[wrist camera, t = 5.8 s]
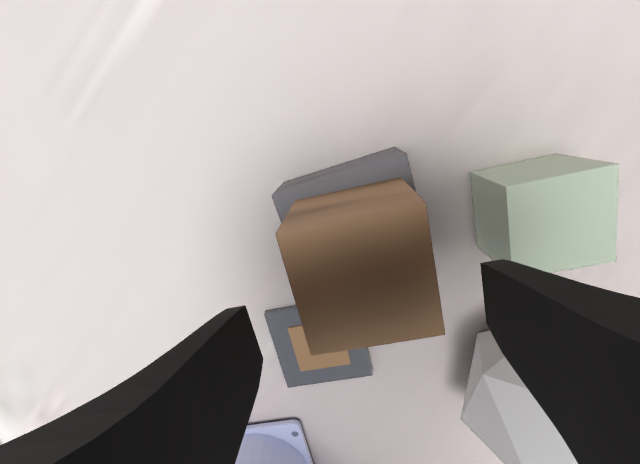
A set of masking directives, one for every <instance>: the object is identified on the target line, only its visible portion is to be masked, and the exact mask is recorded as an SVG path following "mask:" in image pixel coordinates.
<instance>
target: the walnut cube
mask: <svg viewBox="0 0 640 464" xmlns="http://www.w3.org/2000/svg"><path fill="white" fill-rule="evenodd" d="M276 238H277V241H278V245H279V248H280V251H281V255H282V258H283V262H284V265H285V268H286V272H287V275H288V279H289V282H290V286H291V289H292V292H293V296H294V299H295V303H296V306H297V309H298V313H299V316H300V320H301V323H302V327H303V330H304V333H305V337H306V340H307V344H308V347H309V350H310V354H311V356H314V355H320V354H327V353H333V352H339V351H346V350H352V349H358V348H365V347H371V346H377V345H383V344H390V343H396V342H402V341H409V340H415V339H421V338H427V337H434V336H440V335H445V329H444V322H443V316H442V309H441V302H440V295H439V289H438V282H437V275H436V269H435V262H434V255H433V249H432V242H431V235H430V228H429V222H428V215H427V208H426V202H425V201H424V200H423V199H422V198H421V197H420V196H419V195H418V194H417V193H416V192H415V191H414V190H413V189H412V188H411V187H410V186H409V185H408V184H407V183H406V182H405V181H404V180H403V179H402V178H401V177H398V178H393V179H389V180H384V181H380V182H376V183H371V184H367V185H362V186H358V187H353V188H349V189H344V190H340V191H335V192H331V193H326V194H322V195H317V196H313V197H308V198H304V199H299V200H295V202H294V203H293V205H292V207H291V208H290V210H289V212H288V213H287V215H286V217H285V219H284V220H283V222H282V224H281V225H280V227H279V229H278V231H277V232H276Z"/></svg>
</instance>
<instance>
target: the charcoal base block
mask: <svg viewBox="0 0 640 464" xmlns="http://www.w3.org/2000/svg"><path fill="white" fill-rule="evenodd" d="M398 177H401V178H402V179H403V180H404V181H405V182H406V183H407V184H408V185H409V186H410V187H411V188H412V189H413V190H414V191H415V187H414V183H413V178H412V174H411V170H410V166H409V162H408V158H407V154H406V153H405V152H403V151H401V150H399V149H397V148H395V147H392V148H389V149H386V150H383V151H380V152H377V153H374V154H370V155H367V156H364V157H361V158H358V159H355V160H352V161H348V162H345V163H342V164H339V165H336V166H333V167H330V168H326V169H323V170H320V171H317V172H314V173H311V174H308V175H304V176H301V177H298V178H295V179H292V180H289V181H286V182H284V183H283V184H282V185H281V186H280V187H279V188H278V189H277V190H276V191H275V192H274V193H273V195H272V199H273V201H274V204H275V207H276V209H277V212H278V215H279V217H280V220H281V223H282V222H283V220H284V219H285V217H286V215H287V213H288V212H289V210H290V208H291V207H292V205H293V203H294V202H295V200H299V199H304V198H308V197H313V196H317V195H322V194H326V193H331V192H335V191H340V190H344V189H349V188H353V187H358V186H362V185H367V184H371V183H376V182H380V181H384V180H389V179H393V178H398ZM415 192H416V191H415Z"/></svg>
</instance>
